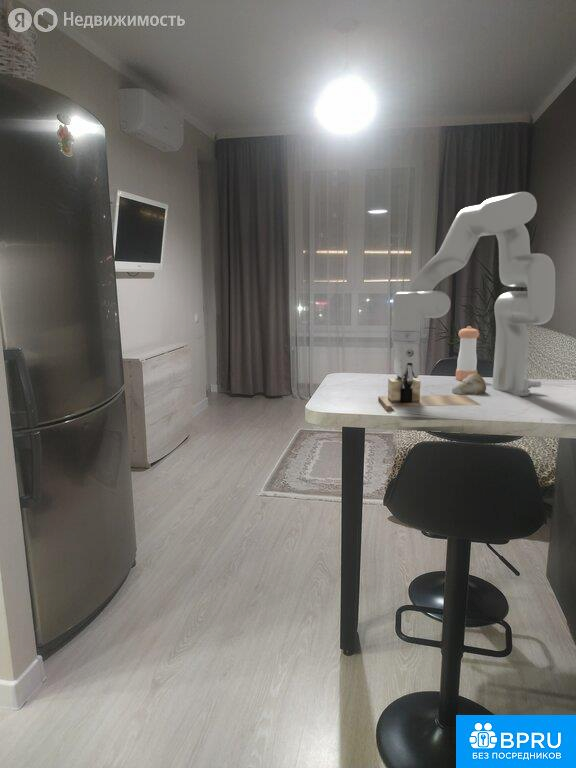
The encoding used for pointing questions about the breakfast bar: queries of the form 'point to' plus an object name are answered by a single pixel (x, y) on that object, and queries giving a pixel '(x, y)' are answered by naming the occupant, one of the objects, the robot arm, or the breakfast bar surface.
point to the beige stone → (470, 385)
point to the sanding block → (396, 386)
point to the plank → (429, 401)
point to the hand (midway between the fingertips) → (403, 399)
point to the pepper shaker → (467, 353)
